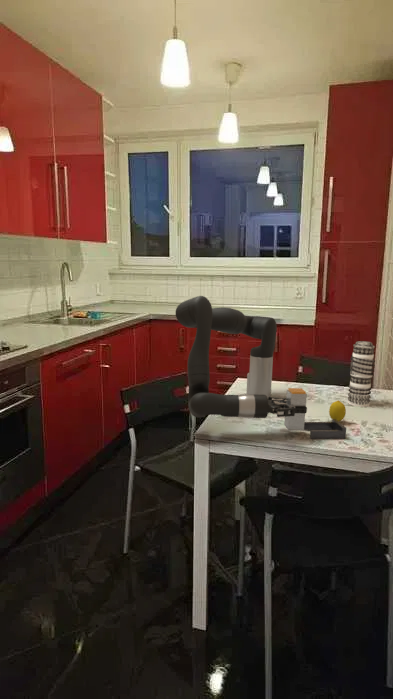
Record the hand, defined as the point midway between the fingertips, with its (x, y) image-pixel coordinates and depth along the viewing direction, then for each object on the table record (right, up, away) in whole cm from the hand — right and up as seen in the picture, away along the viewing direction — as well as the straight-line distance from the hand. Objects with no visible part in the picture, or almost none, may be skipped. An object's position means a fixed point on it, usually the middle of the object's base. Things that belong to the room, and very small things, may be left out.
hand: (303, 407), depth 146 cm
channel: (+6, -9, +2) cm, 11 cm away
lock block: (-3, -7, +1) cm, 7 cm away
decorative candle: (+31, -3, +36) cm, 48 cm away
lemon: (+15, -7, +14) cm, 21 cm away
